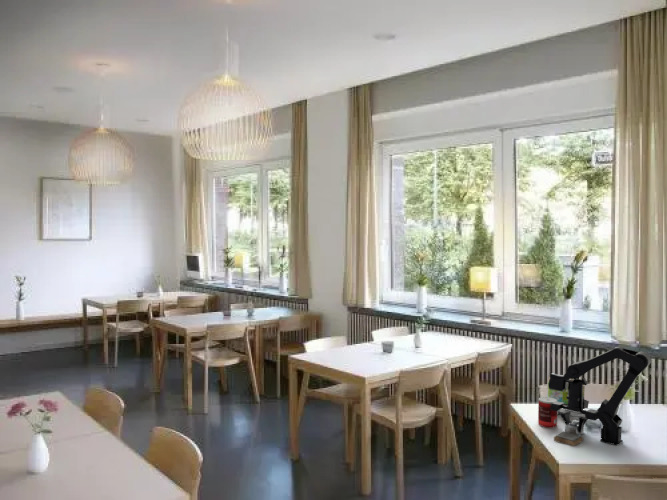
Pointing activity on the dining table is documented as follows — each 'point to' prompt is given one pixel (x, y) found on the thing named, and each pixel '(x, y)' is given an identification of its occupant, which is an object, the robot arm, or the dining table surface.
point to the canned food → (546, 412)
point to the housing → (573, 427)
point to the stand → (568, 438)
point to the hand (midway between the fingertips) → (574, 431)
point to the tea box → (562, 398)
